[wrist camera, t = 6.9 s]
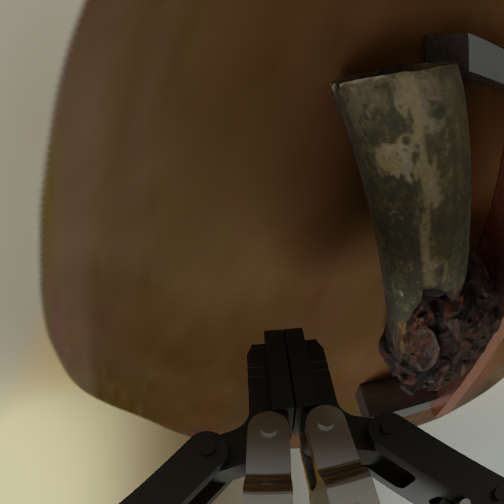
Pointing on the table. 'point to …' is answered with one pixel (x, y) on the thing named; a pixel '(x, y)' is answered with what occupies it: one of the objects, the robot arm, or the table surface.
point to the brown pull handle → (490, 252)
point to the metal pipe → (421, 218)
